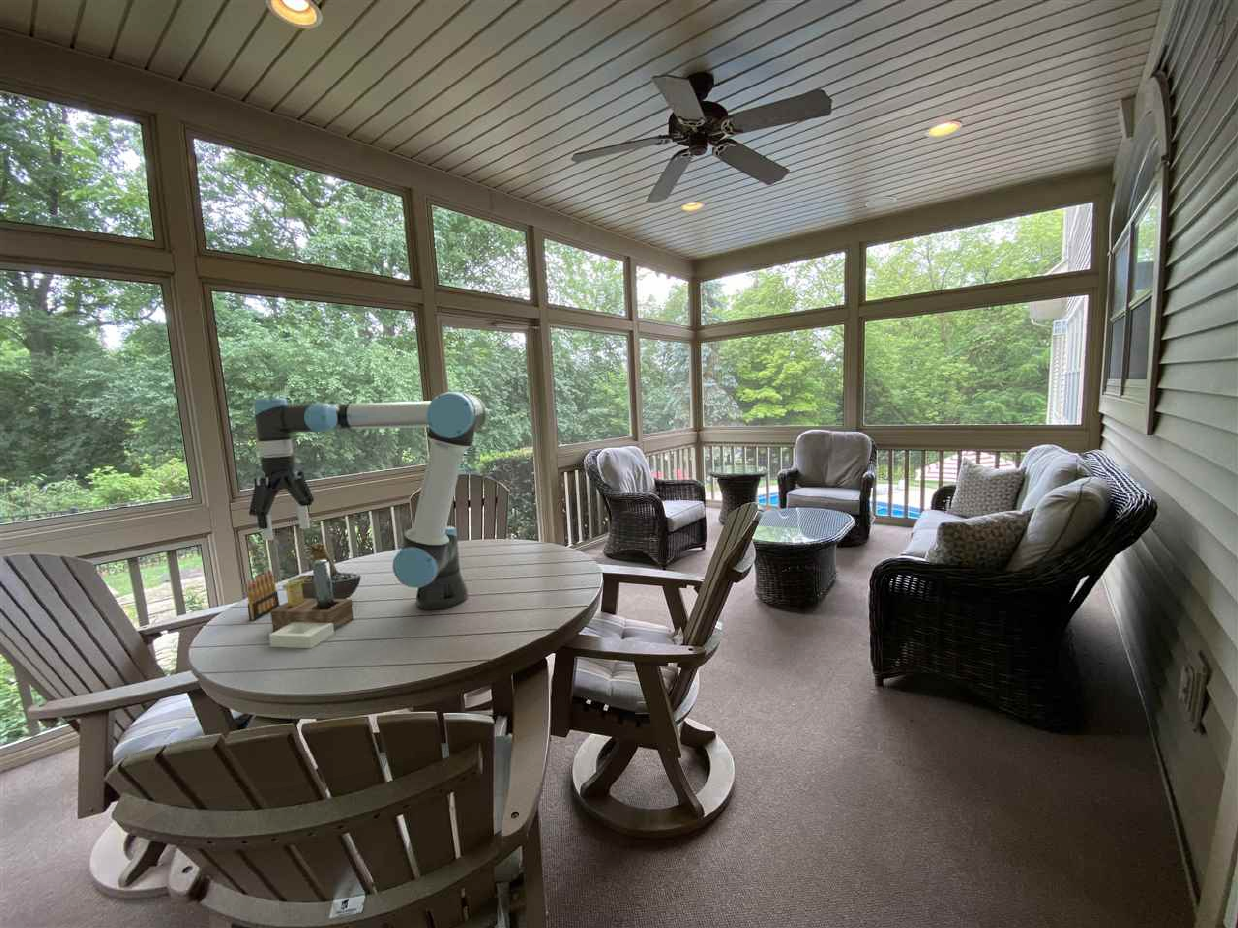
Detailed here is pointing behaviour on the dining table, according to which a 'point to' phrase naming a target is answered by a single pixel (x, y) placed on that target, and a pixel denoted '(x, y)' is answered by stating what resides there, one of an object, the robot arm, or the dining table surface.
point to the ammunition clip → (262, 596)
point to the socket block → (313, 614)
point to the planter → (341, 582)
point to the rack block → (301, 634)
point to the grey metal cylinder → (323, 584)
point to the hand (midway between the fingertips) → (287, 533)
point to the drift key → (294, 592)
